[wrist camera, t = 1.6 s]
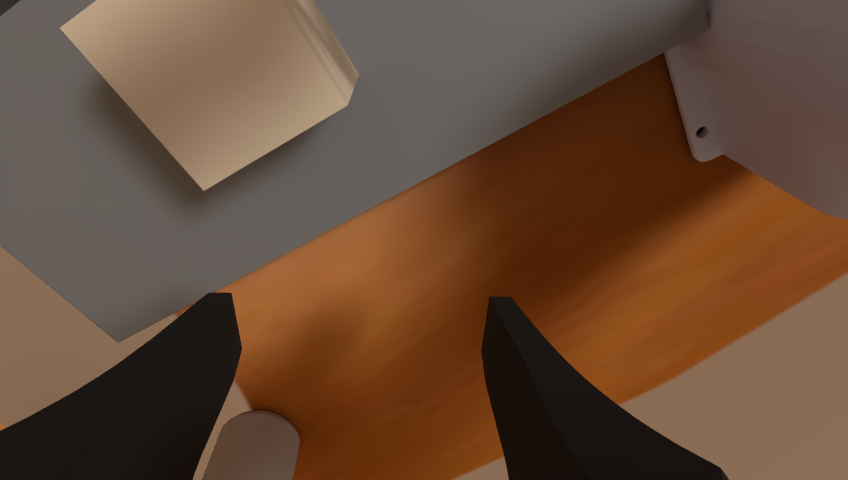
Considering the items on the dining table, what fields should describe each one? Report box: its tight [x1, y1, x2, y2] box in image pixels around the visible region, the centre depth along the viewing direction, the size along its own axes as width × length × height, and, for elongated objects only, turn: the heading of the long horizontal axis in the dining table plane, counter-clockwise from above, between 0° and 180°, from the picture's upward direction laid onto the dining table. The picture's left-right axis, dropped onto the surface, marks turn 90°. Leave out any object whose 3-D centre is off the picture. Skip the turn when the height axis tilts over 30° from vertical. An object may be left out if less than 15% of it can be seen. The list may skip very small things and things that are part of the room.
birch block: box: [60, 0, 359, 191], centre depth 14 cm, size 5×5×4 cm
